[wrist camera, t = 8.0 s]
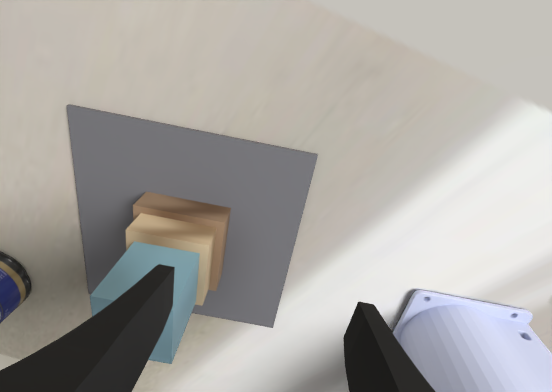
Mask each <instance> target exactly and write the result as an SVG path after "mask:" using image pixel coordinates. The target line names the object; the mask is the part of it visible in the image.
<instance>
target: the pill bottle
mask: <svg viewBox="0 0 552 392" xmlns="http://www.w3.org/2000/svg"><path fill="white" fill-rule="evenodd" d="M30 289H31V283H30V280H29V277H28V276H27V274H26V272H25V270H24V269H23V267H22V266H21V265H20V264H19V263H18V262H17V261H15V260H14V259H13V258H12V257H10V256H7V255H5V254H4V253H2V252H0V323H1V322H2V321H3V320H4V319H5V318H6V317H7V316H8V315H9V314H10V313H12V312H13V311H14V310H15V309H16V308H17V307H18V306H19V305H20V304H21V303H22V302H23V301H24V300H25V299H26V298H27V297H28V295H29V293H30Z"/></svg>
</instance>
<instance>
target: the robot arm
mask: <svg viewBox="0 0 552 392" xmlns="http://www.w3.org/2000/svg"><path fill="white" fill-rule="evenodd" d="M174 272H175V267H172V266H167V265H161V264H158V265H157V266H155V267H154V268H153V269H152V270H151V271H150V272H148V273H147V274H146V275H145V276H144V277H143V278H142V279H140V280H139V281H138V282H137V283H136V284H134V285H133V286H132V287H131V288H130V289H128V290H127V291H126V292H125V293H123V294H122V295H121V296H120V297H118V298H117V299H116V300H114V301H113V302H112V303H111V304H109V305H108V306H107V307H105V308H104V309H102V310H101V311H100V312H98V313H97V314H95V315H94V316H93V317H91V318H90V319H88V320H87V321H86V322H84V323H83V324H81V325H80V326H78V327H77V328H75V329H74V330H72V331H70V332H69V333H67V334H66V335H64V336H62V337H61V338H59V339H58V340H56V341H54V342H52V343H51V344H49V345H47V346H45V347H44V348H42V349H40V350H39V351H37V352H35V353H33V354H31V355H30V356H28V357H26V358H24V359H22V360H20V361H18V362H17V363H15V364H13V365H11V366H8V367H6V368H5V369H2V370H1V371H0V392H132V390H133V388H134V386H135V384H136V382H137V380H138V378H139V376H140V375H141V373H142V371H143V369H144V367H145V365H146V363H147V361H148V359H149V357H150V355H151V353H152V352H153V350H154V348H155V346H156V344H157V342H158V340H159V338H160V336H161V334H162V332H163V330H164V327H165V325H166V322H167V320H168V317H169V315H170V312H171V309H172V307H173V292H174ZM425 297H427V298H425ZM532 318H533V315H532V314H531V313H530V311H528V310H524V309H518V308H513V307H508V306H503V305H497V304H492V303H487V302H482V301H476V300H471V299H466V298H461V297H455V296H450V295H445V294H440V293H434V292H429V291H424V290H417V291H415V292H414V293H413V295H412V297H411V298H410V300H409V302H408V304H407V306H406V308H405V310H404V312H403V314H402V316H401V318H400V320H399V322H398V324H397V325H396V327H395V329H394V331H393V333H392V332H391V330H390V328H389V327H388V325H387V324H386V322H385V321H384V319H383V318H382V316H381V315H380V313H379V312H378V310H377V309H376V307H375V306H374V305H373V304H368V303H363V302H358V304H357V306H356V309H355V311H354V314H353V316H352V318H351V321H350V323H349V326H348V328H347V330H346V333H345V335H344V357H345V368H346V374H347V380H348V386H349V392H552V354H551V352H550V351H549V350H548V349H547V347H546V346H545V345H544V344H543V342H542V341H541V340H540V339H539V338H538V336H537V335H536V334H535V333H534V331H533V330H532V329H531V328H530V326H529V325H528V323H529V322H530V321H531V320H532Z"/></svg>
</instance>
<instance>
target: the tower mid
mask: <svg viewBox="0 0 552 392" xmlns="http://www.w3.org/2000/svg"><path fill="white" fill-rule="evenodd" d="M216 229H217V228H215V227H210V226H205V225H200V224H195V223H189V222H184V221H179V220H174V219H169V218H163V217H158V216H153V215H148V214H143V213H140V215H139V216H138V217H137V218H136V219H135V220H134V221H133V222H132V223H131V224H130V226H129V227H128V228H127V229H126V251H127V250H128V249H129V247H130V246H131V245H132V244H133V242H134V241H135V242H140V243H146V244H151V245H157V246H162V247H168V248H173V249H179V250H185V251H190V252H196V253H200V257H199V270H198V283H197V295H196V303H195V305H201V306H202V305H203V303H204V300H205V297H206V294H207V292H208V289H209V286H210V280H211V271H212V263H213V255H214V246H215V238H216Z"/></svg>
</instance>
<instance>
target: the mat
mask: <svg viewBox="0 0 552 392" xmlns="http://www.w3.org/2000/svg"><path fill="white" fill-rule="evenodd" d="M67 113H68V121H69V130H70V138H71V147H72V155H73V164H74V172H75V181H76V189H77V198H78V206H79V215H80V223H81V232H82V240H83V249H84V257H85V266H86V274H87V283H88V291H89V294H92V293H93V291H94V290H95V289H96V288H97V287H98V285H99V284H100V283H101V282H102V280H103V279H104V278H105V277H106V276H107V274H108V273H109V272H110V271H111V269H112V268H113V267H114V266H115V264H116V263H117V262H118V261H119V260H120V258H121V257H122V256H123V255H124V253H125V252H126V229H127V228H128V227H129V226H130V224H131V223H132V222H133V205H134V204H135V203H136V202H137V201H138V200H139V199H140V198H141V197H142V196H143V195H144V194H145V193H146V192H151V193H156V194H162V195H167V196H172V197H177V198H182V199H187V200H192V201H198V202H203V203H208V204H213V205H218V206H223V207H229V208H231V212H230V219H229V226H228V233H227V240H226V248H225V255H224V262H223V269H222V275H221V278H220V281H219V284H218V287H217V290H216V291H212V290H208V292H207V294H206V297H205V300H204V303H203V305H202V306H201V305H194V308H193V310H192V313H195V314H201V315H206V316H212V317H217V318H222V319H228V320H233V321H239V322H244V323H249V324H255V325H260V326H266V327H271V328H273V325H274V321H275V317H276V313H277V310H278V306H279V302H280V298H281V294H282V290H283V287H284V283H285V279H286V275H287V271H288V268H289V264H290V260H291V256H292V252H293V248H294V245H295V241H296V237H297V233H298V229H299V225H300V222H301V218H302V214H303V210H304V206H305V202H306V199H307V195H308V191H309V187H310V183H311V179H312V176H313V172H314V168H315V164H316V160H317V156H318V155H317V154H314V153H309V152H304V151H299V150H294V149H289V148H284V147H279V146H274V145H269V144H264V143H259V142H254V141H249V140H244V139H239V138H234V137H229V136H224V135H219V134H214V133H209V132H204V131H199V130H194V129H189V128H184V127H179V126H174V125H169V124H164V123H159V122H155V121H150V120H145V119H140V118H135V117H130V116H125V115H120V114H115V113H110V112H105V111H100V110H95V109H90V108H85V107H80V106H75V105H67Z"/></svg>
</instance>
